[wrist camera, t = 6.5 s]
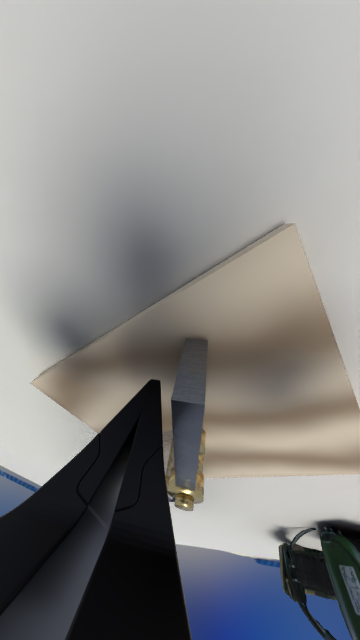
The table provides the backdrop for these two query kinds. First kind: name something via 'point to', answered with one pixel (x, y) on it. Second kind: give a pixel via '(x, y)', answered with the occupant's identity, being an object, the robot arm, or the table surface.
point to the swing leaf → (189, 412)
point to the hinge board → (233, 366)
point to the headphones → (324, 576)
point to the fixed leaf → (181, 495)
